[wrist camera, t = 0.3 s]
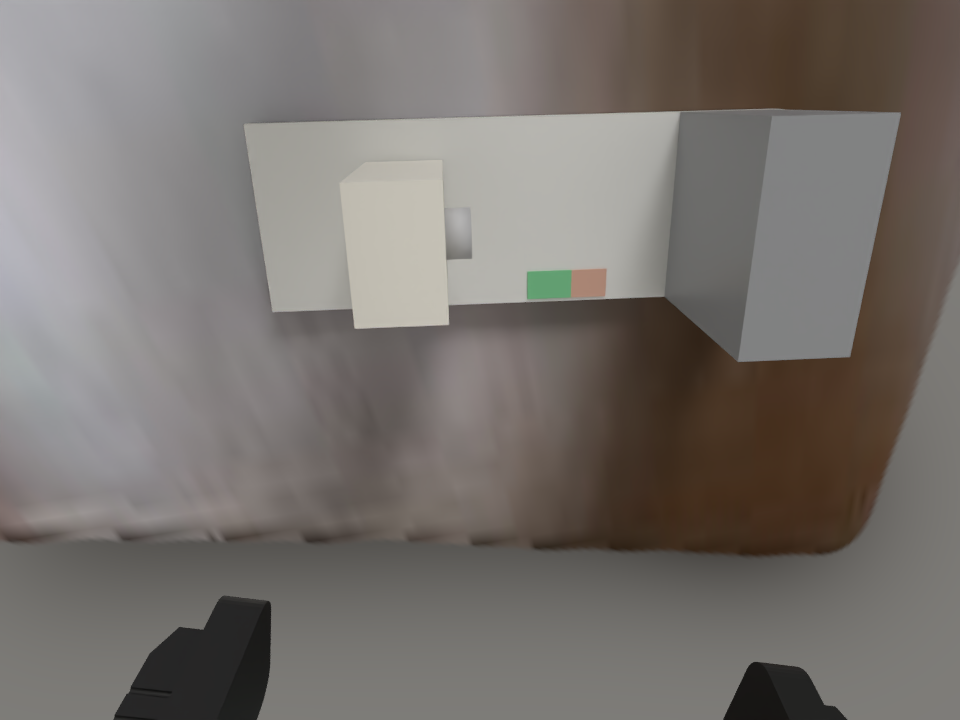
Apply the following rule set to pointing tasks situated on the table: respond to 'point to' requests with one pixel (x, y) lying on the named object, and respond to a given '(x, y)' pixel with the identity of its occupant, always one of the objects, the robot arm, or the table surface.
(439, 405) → the table surface
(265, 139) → the base
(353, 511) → the table surface
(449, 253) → the block
